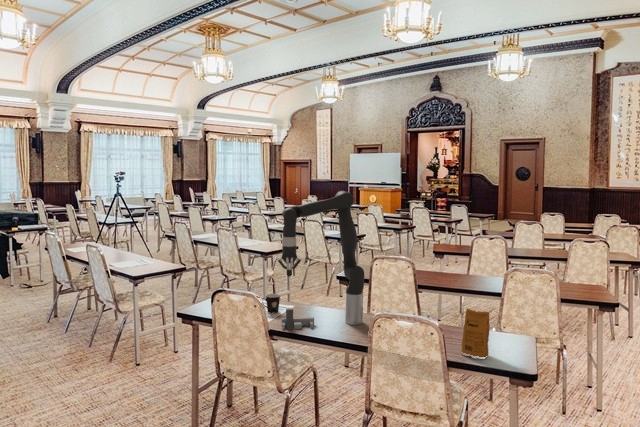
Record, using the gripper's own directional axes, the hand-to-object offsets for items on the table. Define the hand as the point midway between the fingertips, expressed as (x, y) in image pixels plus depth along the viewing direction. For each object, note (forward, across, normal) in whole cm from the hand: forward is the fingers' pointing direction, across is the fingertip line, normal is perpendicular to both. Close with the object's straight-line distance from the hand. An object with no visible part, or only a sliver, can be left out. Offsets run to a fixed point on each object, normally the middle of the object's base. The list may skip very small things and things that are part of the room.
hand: (289, 276), depth 264 cm
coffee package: (+29, +84, -50) cm, 102 cm away
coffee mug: (+29, -9, +30) cm, 42 cm away
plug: (+28, 0, -2) cm, 29 cm away
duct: (+28, +5, 0) cm, 29 cm away
